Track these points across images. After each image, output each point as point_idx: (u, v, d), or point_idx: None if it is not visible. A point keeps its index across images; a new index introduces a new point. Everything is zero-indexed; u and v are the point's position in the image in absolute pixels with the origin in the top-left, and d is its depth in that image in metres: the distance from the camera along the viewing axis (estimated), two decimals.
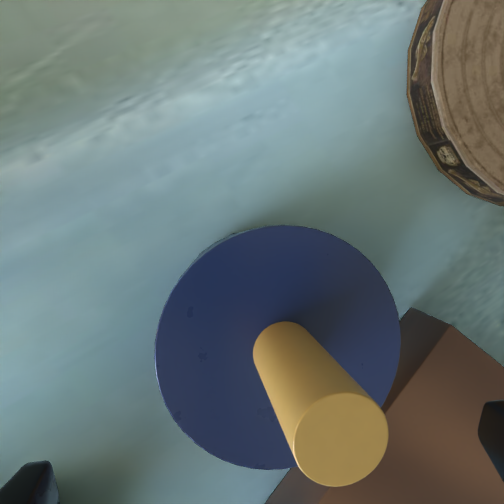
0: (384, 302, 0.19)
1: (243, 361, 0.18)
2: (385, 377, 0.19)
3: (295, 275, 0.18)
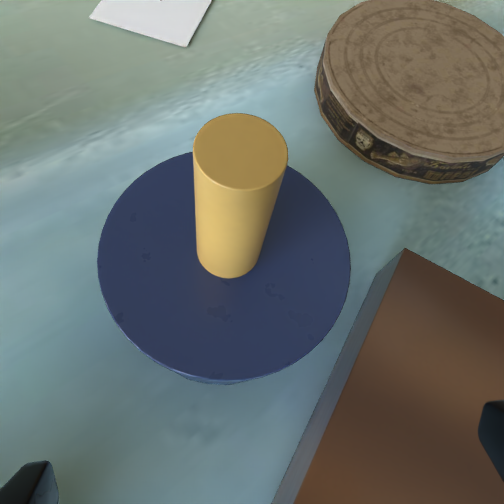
0: (320, 203, 0.20)
1: (188, 260, 0.18)
2: (340, 271, 0.18)
3: None
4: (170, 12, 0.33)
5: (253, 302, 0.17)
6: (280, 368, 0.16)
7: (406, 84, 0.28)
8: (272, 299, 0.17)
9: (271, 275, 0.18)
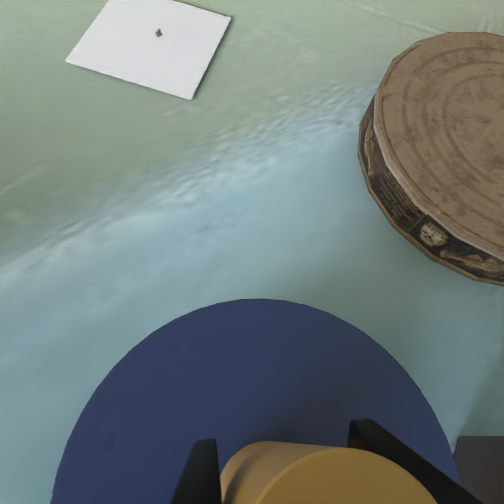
0: (407, 394, 0.12)
1: None
2: None
3: (266, 366, 0.12)
4: (170, 52, 0.25)
5: None
6: None
7: (488, 157, 0.21)
8: None
9: None
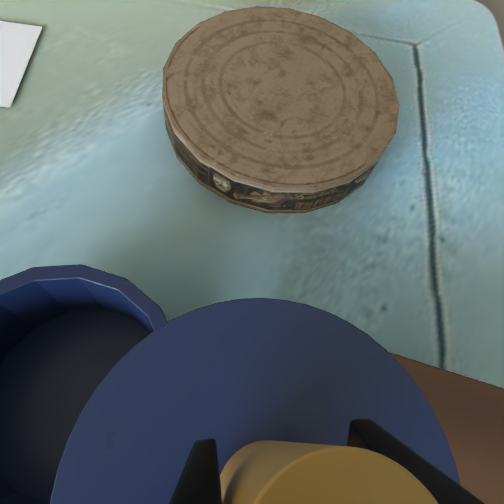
0: (407, 393, 0.12)
1: None
2: None
3: (266, 365, 0.12)
4: None
5: None
6: None
7: (257, 112, 0.26)
8: None
9: None
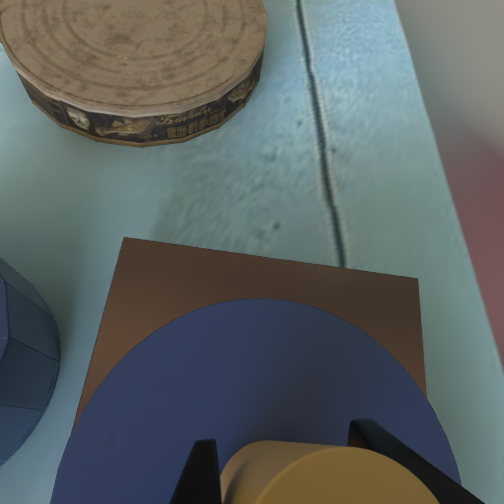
0: (408, 393, 0.12)
1: None
2: None
3: (266, 365, 0.12)
4: None
5: None
6: None
7: (108, 37, 0.23)
8: None
9: None
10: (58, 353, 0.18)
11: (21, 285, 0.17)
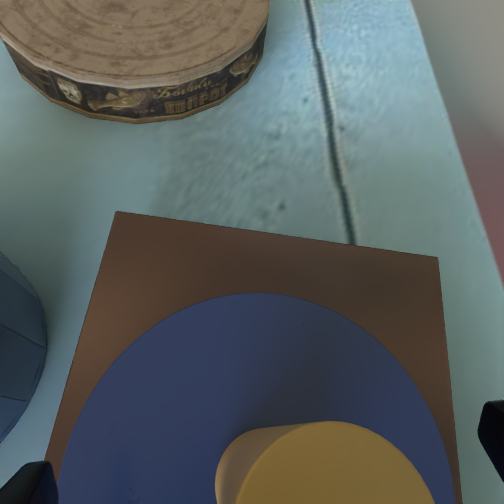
0: (400, 384, 0.13)
1: None
2: None
3: (264, 357, 0.13)
4: None
5: None
6: None
7: (101, 5, 0.22)
8: None
9: None
10: (45, 340, 0.17)
11: (3, 263, 0.15)
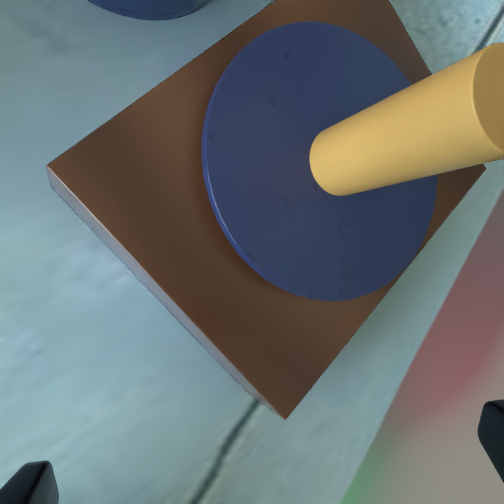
0: (429, 192, 0.18)
1: (302, 139, 0.16)
2: (399, 260, 0.18)
3: None
4: None
5: (322, 224, 0.16)
6: (301, 294, 0.16)
7: None
8: (337, 235, 0.16)
9: (352, 215, 0.17)
10: None
11: None
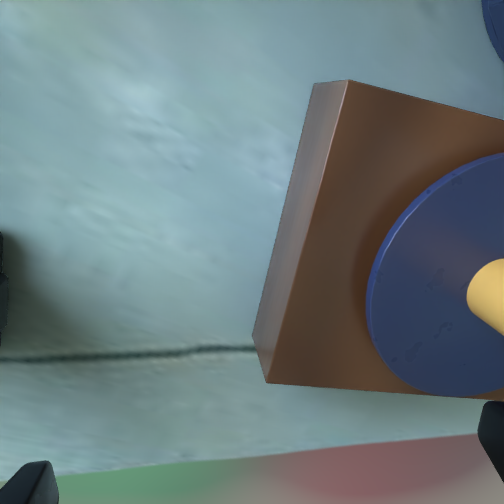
0: None
1: (497, 249, 0.16)
2: (446, 387, 0.19)
3: None
4: None
5: (438, 311, 0.17)
6: (372, 332, 0.17)
7: None
8: (436, 328, 0.17)
9: (459, 328, 0.17)
10: None
11: None
